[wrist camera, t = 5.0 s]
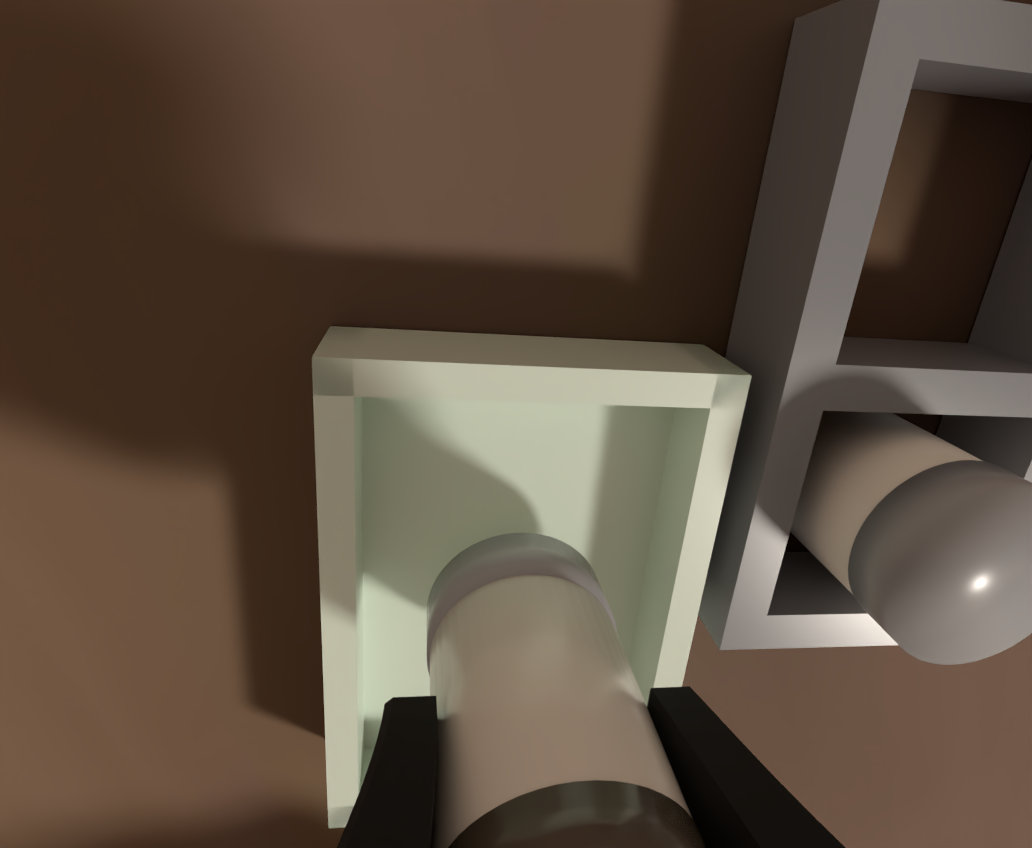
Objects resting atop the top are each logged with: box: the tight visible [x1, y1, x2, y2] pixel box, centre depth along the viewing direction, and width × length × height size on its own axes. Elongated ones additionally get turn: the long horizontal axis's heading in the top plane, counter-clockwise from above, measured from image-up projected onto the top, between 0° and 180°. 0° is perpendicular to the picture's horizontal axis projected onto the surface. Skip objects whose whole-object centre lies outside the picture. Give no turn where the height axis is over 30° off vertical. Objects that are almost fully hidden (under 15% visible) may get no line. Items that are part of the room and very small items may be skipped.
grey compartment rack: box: [698, 0, 1032, 665], centre depth 11 cm, size 6×11×4 cm, turn 175°
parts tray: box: [312, 326, 752, 828], centre depth 13 cm, size 7×10×2 cm
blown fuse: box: [427, 533, 706, 848], centre depth 8 cm, size 3×3×8 cm
